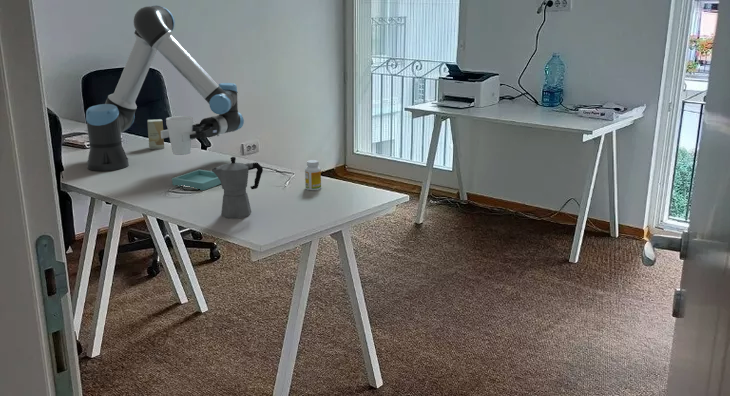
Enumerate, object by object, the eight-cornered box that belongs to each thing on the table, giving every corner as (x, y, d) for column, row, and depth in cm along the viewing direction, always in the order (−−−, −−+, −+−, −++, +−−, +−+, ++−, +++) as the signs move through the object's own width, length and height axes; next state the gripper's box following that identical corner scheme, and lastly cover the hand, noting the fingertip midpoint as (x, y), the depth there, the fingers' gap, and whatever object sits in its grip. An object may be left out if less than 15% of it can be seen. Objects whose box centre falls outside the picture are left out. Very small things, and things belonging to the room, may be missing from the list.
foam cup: (198, 150, 258) (196, 116, 254) (189, 156, 249) (187, 121, 245) (173, 149, 258) (171, 115, 255) (164, 155, 250) (162, 120, 246)
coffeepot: (217, 221, 203) (213, 162, 198) (212, 212, 212) (208, 155, 206) (268, 215, 209) (265, 157, 203) (261, 206, 217) (258, 151, 212)
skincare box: (149, 149, 294) (147, 121, 290) (149, 147, 298) (146, 119, 294) (165, 148, 296) (162, 120, 292) (164, 146, 300) (161, 118, 296)
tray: (172, 185, 241) (171, 178, 240) (199, 175, 252) (199, 169, 252) (203, 190, 234) (202, 183, 233) (229, 180, 246) (229, 174, 245)
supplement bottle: (323, 187, 238) (323, 160, 235) (317, 191, 233) (316, 163, 230) (309, 185, 240) (308, 158, 237) (303, 189, 235) (302, 162, 232)
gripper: (235, 139, 263) (195, 150, 244) (191, 132, 273) (150, 143, 254) (234, 119, 261) (194, 129, 242) (190, 114, 271) (148, 123, 252)
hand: (171, 136), depth 248 cm, fingers closed on foam cup, 9 cm apart
